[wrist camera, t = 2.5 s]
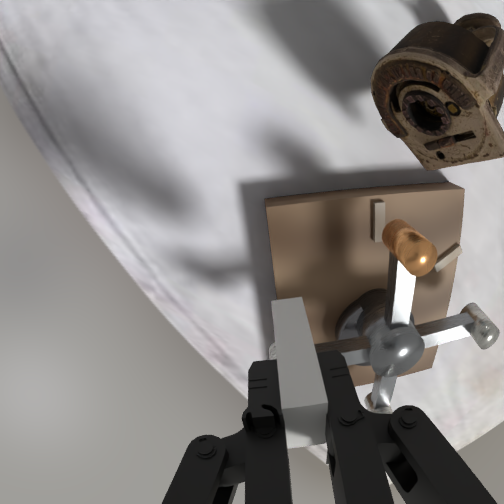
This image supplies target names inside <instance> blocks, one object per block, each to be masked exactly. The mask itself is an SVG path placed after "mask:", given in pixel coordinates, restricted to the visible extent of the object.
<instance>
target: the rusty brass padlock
mask: <svg viewBox="0 0 504 504" xmlns="http://www.w3.org/2000/svg"><path fill="white" fill-rule="evenodd" d="M503 69H504V30H502V29H501V25H500V23H499V21H498V19H496V18H495V17H494V16H492V15H489V14H485V13H473V14H469V15H465V16H463V17H461V18H460V19H458V20H457V21H456V22H455V23H454V24H451V23H447V22H438V21H436V22H427V23H424V24H421V25H418V26H416V27H415V28H414V29H412V30H411V31H410V32H409V33H408V34H407V35H406V36H405V37H404V38H403V39H402V40H401V41H400V42H399V43H398V44H397V45H396V46H395V47H394V48H393V49H392V50H391V51H390V52H389V53H388V54H387V55H385V56H384V57H382V58H381V59H380V60H379V61H378V63H377V65H376V66H375V68H374V70H373V73H372V76H371V93H372V96H373V99H374V102H375V105H376V107H377V109H378V111H379V113H380V116H381V117H382V119H381V121H382V122H383V124H384V126H385V127H386V129H387V130H388V131H390V132H391V133H392V134H393V135H394V136H396V137H397V138H400V139H401V140H403V142H404V143H405V144H406V145H407V146H408V148H409V149H410V150H411V151H412V153H413V154H414V155H415V156H416V158H417V159H418V160H419V161H420V163H421V164H422V165H423V167H424V168H425V169H426V170H427V171H429V170H436V169H441V168H446V167H451V166H457V165H462V164H467V163H474V162H481V161H487V160H492V159H497V158H502V157H504V131H503V129H502V127H501V126H500V124H499V122H498V120H497V116H498V113H499V111H500V108H501V106H502V103H503V98H504V75H503Z"/></svg>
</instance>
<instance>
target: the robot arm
mask: <svg viewBox="0 0 504 504" xmlns="http://www.w3.org/2000/svg"><path fill="white" fill-rule="evenodd" d="M271 306H272V316H273V326H274V336H275V346H276V356H277V359H273V360H264V361H255V362H253V363H252V365H251V367H250V369H249V371H248V381H249V382H248V407H247V409H246V410H245V411H244V412H243V415H242V421H243V425H244V428H243V429H242V430H240V431H239V432H238V433H236V434H233V435H231V436H228V437H224V438H222V439H220V438H219V437H216V436H214V435H203V436H199V437H197V438H195V439H194V440H192V441H191V443H190V444H189V445H188V448H187V450H186V452H185V454H184V456H183V458H182V461H181V463H180V465H179V467H178V470H177V472H176V474H175V476H174V478H173V480H172V482H171V485H170V487H169V489H168V491H167V493H166V496H165V498H164V500H163V502H162V504H232V502H233V499H234V496H235V493H236V490H237V486H238V484H239V483H241V482H245V504H293V502H292V490H291V481H290V480H291V479H290V469H289V459H288V448H296V447H304V446H311V445H317V444H324V443H326V442H327V448H328V451H327V461H326V464H329V469H330V474H331V480H332V486H333V492H334V498H335V504H394V501H393V498H392V494H391V490H390V487H389V483H388V479H387V476H386V473H387V474H388V476H389V478H390V479H391V481H392V482H393V484H394V485H395V487H396V489H397V490H398V492H399V493H400V495H401V496H402V498H403V499H404V501H405V503H406V504H497V503H496V501H495V500H494V499H493V497H492V496H491V495H490V494H489V492H488V491H487V490H486V488H484V486H483V485H482V483H481V482H480V481H479V480H478V478H477V477H476V476H475V474H474V473H473V472H472V471H471V469H470V468H469V467H468V466H467V464H466V463H465V462H464V461H463V459H462V458H461V457H460V456H459V455H458V453H457V452H456V451H455V449H454V448H453V447H452V446H451V445H450V443H449V442H448V441H447V440H446V438H445V437H444V436H443V435H442V433H441V432H440V431H439V430H438V429H437V427H436V426H435V425H434V424H433V423H432V421H431V420H430V419H429V418H428V417H427V415H426V414H425V413H424V412H423V411H422V410H421V409H420V408H418V407H415V406H411V405H405V406H402V407H399V408H398V409H396V410H395V411H394V412H393V414H381V413H373V412H370V411H368V410H366V409H365V408H364V407H363V406H362V405H361V404H360V402H359V399H358V396H357V393H356V390H355V387H354V384H353V381H352V378H351V375H350V372H349V369H348V366H347V363H346V360H345V357H344V356H343V355H342V354H341V353H340V352H339V351H338V350H332V351H326V352H319V353H316V350H315V346H314V342H313V338H312V334H311V330H310V326H309V323H308V319H307V315H306V311H305V307H304V303H303V300H302V297H296V298H289V299H281V300H273V301H271ZM385 471H386V472H385Z"/></svg>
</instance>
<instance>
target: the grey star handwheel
mask: <svg viewBox="0 0 504 504" xmlns="http://www.w3.org/2000/svg"><path fill="white" fill-rule="evenodd" d="M382 241H383V244H384V245H385V246H386V247H387V248H388V249H389V251H390V252H389V268H388V281H387V289H383V288H377V289H372V290H369V291H367V292H365V293H364V294H362V295H361V296H360V297H359V298H358V299H357V300H355V301H354V302H352V303H351V304H350V305H349V306H348V307H347V308H346V309H345V310H344V311H343V312H342V314H341V315H340V317H339V319H338V321H337V323H336V327H335V337H336V341H331V342H324V343H318V344H314V346H315V350H316V353H319V352H326V351H332V350H338V351H339V352H340V353H341V354H342V355H343V356H344V357H345V360H346V363H347V366H349V365H358V366H372V368H373V371H374V372H375V379H374V384H373V389H372V392H371V393H370V394H368V395H367V396H366V397H365V400H364V401H365V404H366V407H367V410H368V411H370V412H373V413H381V414H393V412H392V409H391V407H390V401H391V398H392V394H393V390H394V387H395V383H396V379H397V375H400V374H402V373H404V372H406V371H408V370H409V369H411V368H412V367H413V366H414V365H415V364H416V363H417V362H418V361H419V360H420V358H421V357H422V355H423V352H424V349H425V348H429V347H432V346H436V345H440V344H443V343H446V342H450V341H453V340H457V339H460V338H463V337H466V336H469V335H471V336H472V337H473V339H474V340H475V341H476V343H477V344H478V345H479V347H480V348H481V349H487V348H489V347H490V346H492V345H493V344H494V343H495V341H496V340H497V338H498V336H499V329H498V328H497V327H496V326H495V324H494V323H493V322H492V321H491V320H490V319H489V318H488V316H487V315H486V314H485V313H484V312H483V311H482V310H481V309H480V308H479V307H478V305H477V304H476V303H470V304H468V305H466V306H465V307H464V308H463V309H462V311H461V313H460V314H458V315H454V316H450V317H446V318H442V319H439V320H435V321H430V322H426V323H422V324H418V325H415V322H414V317H413V314H412V313H411V306H412V300H413V293H414V286H415V278H416V277H419V276H423V275H425V274H427V273H429V272H430V271H431V270H432V269H433V267H434V266H435V264H436V261H437V256H438V254H437V249H436V247H435V246H434V245H433V244H432V243H431V242H430V241H429V240H427V239H426V238H425V237H424V236H423V235H421V234H420V233H419V232H418V231H416V230H415V229H414V228H413V227H412V226H410V225H409V224H408V223H407V222H405V221H404V220H401V219H395V220H392V221H390V222H389V223H388V224H387V225H386V226H385V227H384V229H383V232H382ZM269 359H270V360H273V359H277V356H276V346H275V342H274V343H272V344H271V346H270V348H269Z"/></svg>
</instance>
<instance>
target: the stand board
mask: <svg viewBox="0 0 504 504" xmlns="http://www.w3.org/2000/svg"><path fill="white" fill-rule="evenodd" d="M464 192H465V189H464V188H462V187H459V186H457V185H455V184H453V183H451V182H443V183H425V184H409V185H395V186H382V187H370V188H359V189H348V190H338V191H328V192H318V193H309V194H300V195H291V196H283V197H275V198H267V199H265V207H266V214H267V222H268V230H269V238H270V246H271V254H272V262H273V271H274V279H275V287H276V296H277V300H281V299H289V298H296V297H302V300H303V303H304V307H305V311H306V315H307V319H308V323H309V326H310V330H311V334H312V338H313V342H314V344H318V343H324V342H331V341H336V337H335V327H336V323H337V321H338V319H339V317H340V315H341V314H342V312H343V311H344V310H345V309H346V308H347V307H348V306H349V305H350V304H351V303H352V302H354V301H355V300H357V299H358V298H359V297H360V296H361V295H362V294H364V293H365V292H367V291H369V290H372V289H377V288H383V289H387V281H388V268H389V252H390V251H389V249H388V248H387V247H386V246H385V245H384V244H383V241H382V232H383V229H384V227H385V226H386V225H387V224H388V223H389V222H390V221H392V220H395V219H401V220H404V221H405V222H407V223H408V224H409V225H410V226H412V227H413V228H414V229H415V230H416V231H418V232H419V233H420V234H421V235H423V236H424V237H425V238H426V239H427V240H429V241H430V242H431V243H432V244H433V245H434V246H435V247H436V249H437V254H438V256H437V261H436V264H435V266H434V267H433V269H432V270H431V271H430V272H429V273H427V274H425V275H423V276H419V277H416V278H415V286H414V293H413V300H412V306H411V313H412V314H413V317H414V322H415V325H418V324H422V323H426V322H430V321H435V320H439V319H442V318H446V314H447V310H448V306H449V301H450V297H451V292H452V287H453V282H454V276H455V271H456V265H457V258H458V256H459V255H460V254H461V253H462V249H461V246H460V245H459V244H460V237H461V228H462V218H463V207H464ZM437 348H438V345H436V346H432V347H429V348H425V349H424V352H423V355H422V357H421V358H420V360H419V361H418V362H417V363H416V364H415V365H414V366H413V367H412V368H411V369H409V370H408V371H406V372H404V373H402V374H400V375H397V377H400V376H404V375H408V374H411V373H415V372H419V371H422V370H426V369H429V368H432V365H433V362H434V358H435V355H436V352H437ZM348 369H349V372H350V375H351V378H352V381H353V384H354V387H355V386H360V385H365V384H370V383H374V379H375V372H374V371H373V368H372V366H358V365H349V366H348Z"/></svg>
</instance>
